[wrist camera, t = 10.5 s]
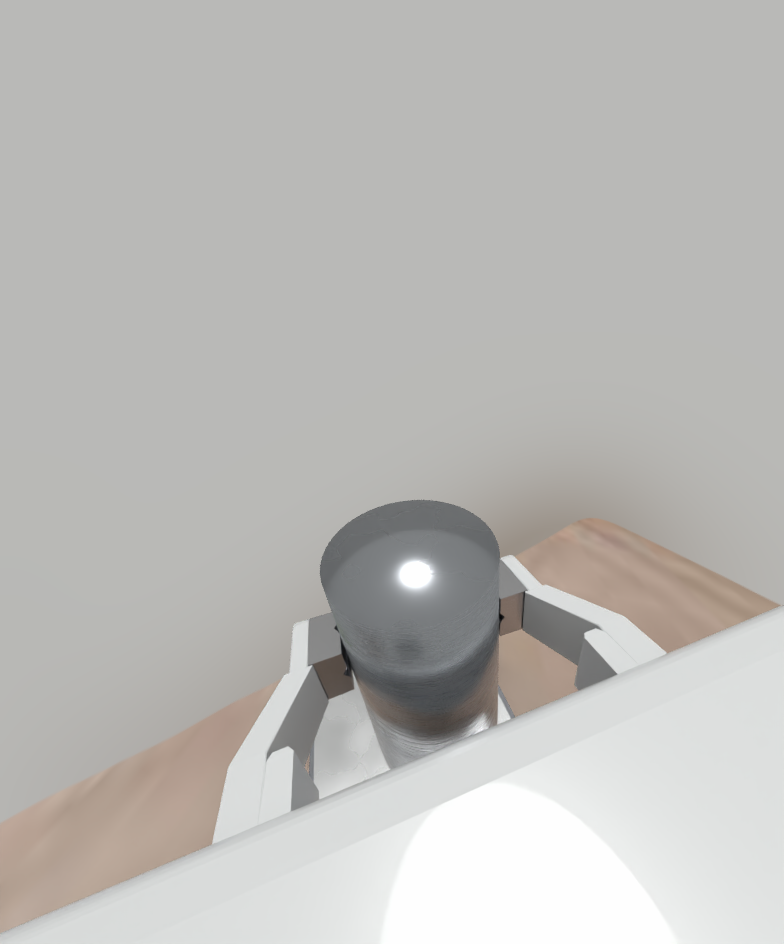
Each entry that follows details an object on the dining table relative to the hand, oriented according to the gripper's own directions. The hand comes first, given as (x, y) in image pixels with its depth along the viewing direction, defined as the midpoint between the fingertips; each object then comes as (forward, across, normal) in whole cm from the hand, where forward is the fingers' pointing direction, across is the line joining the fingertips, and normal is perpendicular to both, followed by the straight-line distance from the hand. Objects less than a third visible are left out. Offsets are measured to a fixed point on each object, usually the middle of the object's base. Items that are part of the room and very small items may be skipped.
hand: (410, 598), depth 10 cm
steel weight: (-1, 0, -6) cm, 6 cm away
